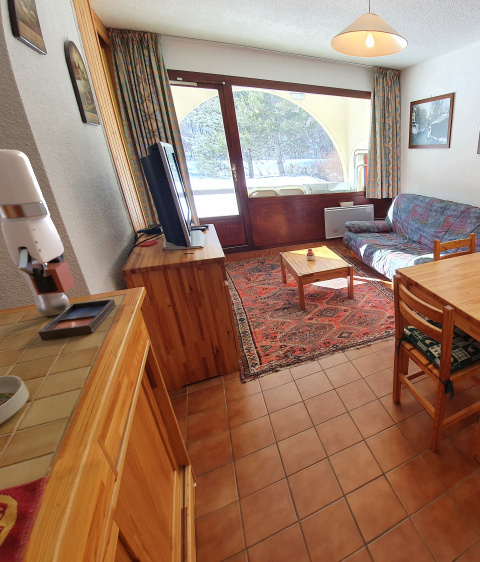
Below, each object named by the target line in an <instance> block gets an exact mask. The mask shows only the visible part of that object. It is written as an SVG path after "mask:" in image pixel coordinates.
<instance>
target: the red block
mask: <svg viewBox="0 0 480 562" xmlns="http://www.w3.org/2000/svg"><path fill="white" fill-rule="evenodd" d="M35 268H38V269H40V270H41V266H36V267H35ZM47 268H48V273H49V275H52V277H53V279H54V282H55V284H56V286H57V289H58V291H56V292H50V293H39V291H38V289H37V287H36V284H35V282H34V280H33V278H31V277H30V275H29V274H28V275H29V277H30V279H31V281H32V284H33V286H34V288H35V290H36V292H37V295H45V294H55V293H64V294H65V293H66V292H68V291H69V290H70V289H71V288H73V287H75V286H76V283H75V280H74V277H73V274H72V273H71V269H70V267H69V264H68V262H67V261H64V262H60V263H47Z"/></svg>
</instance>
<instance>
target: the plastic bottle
mask: <svg viewBox="0 0 480 562" xmlns="http://www.w3.org/2000/svg"><path fill="white" fill-rule="evenodd" d="M32 262H33V264H34V263H37V261H32ZM34 267H36V266H34ZM17 268H18V270H19V272H20V273H21V274H22V276H23V277H24V279H25V280H26V282H27V284H28V286H29V288H30V290H31V293H32V295H33V299H34V306H35V309H36V311H37V312H38V313H39V315H41V316H43V317H51V316H58V315H59V314H60V313H61V312H62V311H64V310H65V309H66V308H67V307H68V306H69V305H71V303H70V300H69V298H68V297H67V295H66V294H65V293H55V294H45V295H37V292H36V290H35V288H34V286H33V284H32V281H31V279H30V277H29V275H28V274H27V273H26V272H23V271H21V270H20V269H19V266H17Z"/></svg>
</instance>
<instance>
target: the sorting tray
mask: <svg viewBox="0 0 480 562" xmlns="http://www.w3.org/2000/svg"><path fill="white" fill-rule="evenodd" d="M116 307H117V304H116V302H115V299H114V298H110V299H101V300H92V301H83V302H75V303H70V305H69V306H68V307H67V308H66V309H65V310H64V311H62V312H61V313H60V314H57V315H56V317H54V318H53V319H52V320H51V321H50V322H48V323H46V325H45V326H44V327H43V328H41V329H40V330H39V331H38V332H37V333H38V335H39V337H40V339H41V341H42V342H43V341H49V340H57V339H64V338H70V337H78V336H84V335H85V336H86V335H92V334H93V333H94V332H96V330H97V329H98V328H99V327H100V325H101V324H102V323H103V322H104V321H105V319H107V317H108V316H109V315H110V314H111V313H112V311H113V310H114V309H116Z"/></svg>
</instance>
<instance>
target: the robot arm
mask: <svg viewBox="0 0 480 562" xmlns="http://www.w3.org/2000/svg"><path fill="white" fill-rule="evenodd" d="M50 216H51V213H50V211H49V209H48V206H47V204H46V200H45V198H44V195H43V193H42V191H41V188H40V185H39V183H38V181H37V177H36V175H35V173H34V171H33V168H32V165H31V162H30V160H29V158H28V156H27V155H26V154H25V153H24V152H23V151H22V150H21V151H20V150H18V149H8V148H7V149H5V148H0V227H1V231H2V235H3V238H4V242H5V245H6V248H7V251H8V252H9V256H10V257H11V260H12V262H13V264H14V265H15V266H17V267H18V266H19V268H18V270H19V269H20V270H21V271H23V272H26V273H27V274H29V275H30V277H31V278H33V280H34V282H35V284H36V287H37V289H38V291H39V293H50V292H56V291H58V289H57V286H56V284H55V282H54V279H53V277H52V275H49V273H48V268H47V263H60V262H65V260H64V258H65V256H64V253H65V247H64V244H63V242H62V239H61V236H60V234H59V233H58V230H57V229H56V226H55V225H54V223H53V221H52V219H51V217H50ZM32 261H37V263H34V264H33V262H32ZM34 266H41V270H40V269H38V268H35V267H34ZM20 270H19V271H20ZM21 271H20V272H21Z"/></svg>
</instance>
